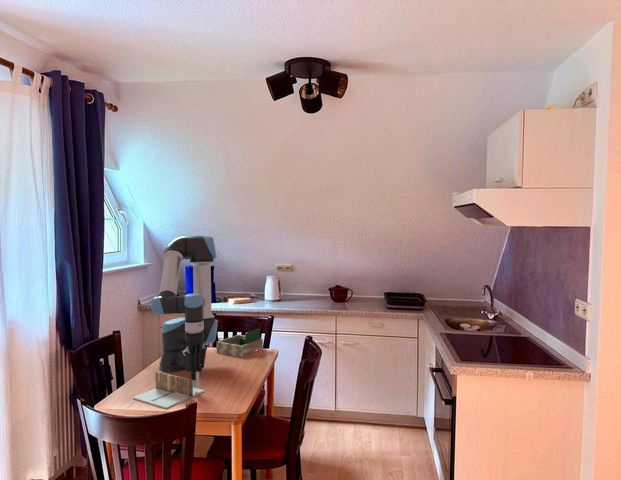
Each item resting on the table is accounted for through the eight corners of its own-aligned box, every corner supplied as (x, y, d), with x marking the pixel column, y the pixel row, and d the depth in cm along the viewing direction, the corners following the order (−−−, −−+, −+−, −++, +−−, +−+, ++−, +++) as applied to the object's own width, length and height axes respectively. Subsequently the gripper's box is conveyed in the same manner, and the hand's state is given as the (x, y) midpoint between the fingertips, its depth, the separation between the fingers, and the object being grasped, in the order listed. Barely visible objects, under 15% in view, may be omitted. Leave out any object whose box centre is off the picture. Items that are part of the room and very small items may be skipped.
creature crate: (216, 352, 241) (216, 341, 241) (238, 344, 257) (238, 334, 256) (241, 357, 232) (241, 346, 232) (262, 349, 247) (262, 338, 247)
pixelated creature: (243, 346, 253) (243, 326, 253) (260, 349, 247) (260, 328, 246) (229, 352, 243) (229, 330, 243) (246, 355, 237) (246, 333, 236)
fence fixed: (154, 389, 189) (154, 371, 188) (158, 388, 190) (158, 370, 190) (172, 394, 183) (172, 376, 182) (176, 393, 184) (176, 374, 184)
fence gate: (173, 392, 183) (173, 376, 182) (177, 391, 184) (176, 375, 184) (190, 397, 177) (190, 380, 177) (193, 395, 179) (193, 379, 178)
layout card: (132, 398, 179) (132, 397, 179) (171, 383, 196) (171, 381, 196) (166, 409, 169) (166, 407, 169) (204, 391, 186) (204, 390, 186)
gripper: (189, 335, 176) (190, 393, 177) (212, 328, 187) (213, 383, 188) (176, 333, 180) (177, 390, 181) (199, 326, 191) (200, 380, 192)
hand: (195, 386), depth 184 cm, fingers closed
